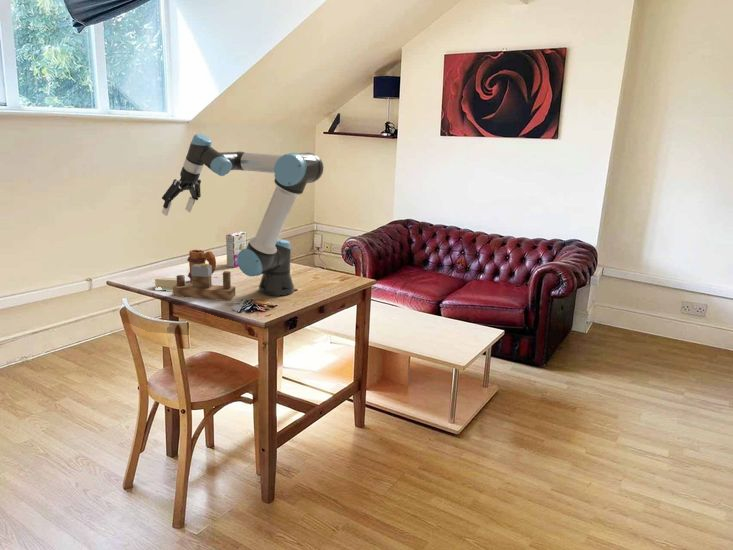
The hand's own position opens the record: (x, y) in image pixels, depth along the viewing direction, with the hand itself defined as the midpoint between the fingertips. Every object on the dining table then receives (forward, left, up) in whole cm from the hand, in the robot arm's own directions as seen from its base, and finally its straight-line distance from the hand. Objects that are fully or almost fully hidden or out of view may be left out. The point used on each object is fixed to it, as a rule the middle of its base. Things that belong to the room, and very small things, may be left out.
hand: (176, 212), depth 247 cm
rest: (+1, +10, -31) cm, 33 cm away
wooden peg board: (-18, +18, -31) cm, 41 cm away
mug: (-10, -1, -31) cm, 33 cm away
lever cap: (-17, +18, -22) cm, 34 cm away
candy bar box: (-15, -36, -32) cm, 50 cm away
